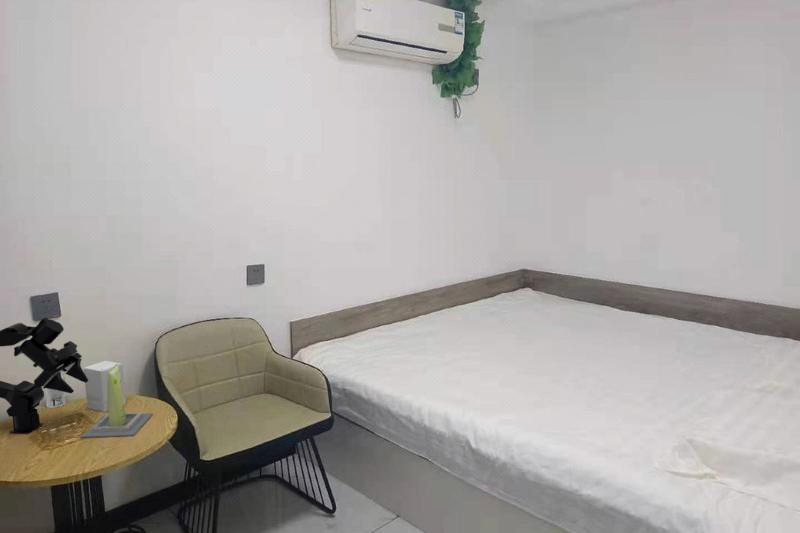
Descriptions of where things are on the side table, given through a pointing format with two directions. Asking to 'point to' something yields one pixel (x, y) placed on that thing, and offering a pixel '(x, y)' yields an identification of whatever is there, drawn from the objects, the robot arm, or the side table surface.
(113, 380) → the tube
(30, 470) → the side table surface
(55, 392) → the beer glass
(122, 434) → the mat
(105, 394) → the supplement box
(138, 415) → the collar
